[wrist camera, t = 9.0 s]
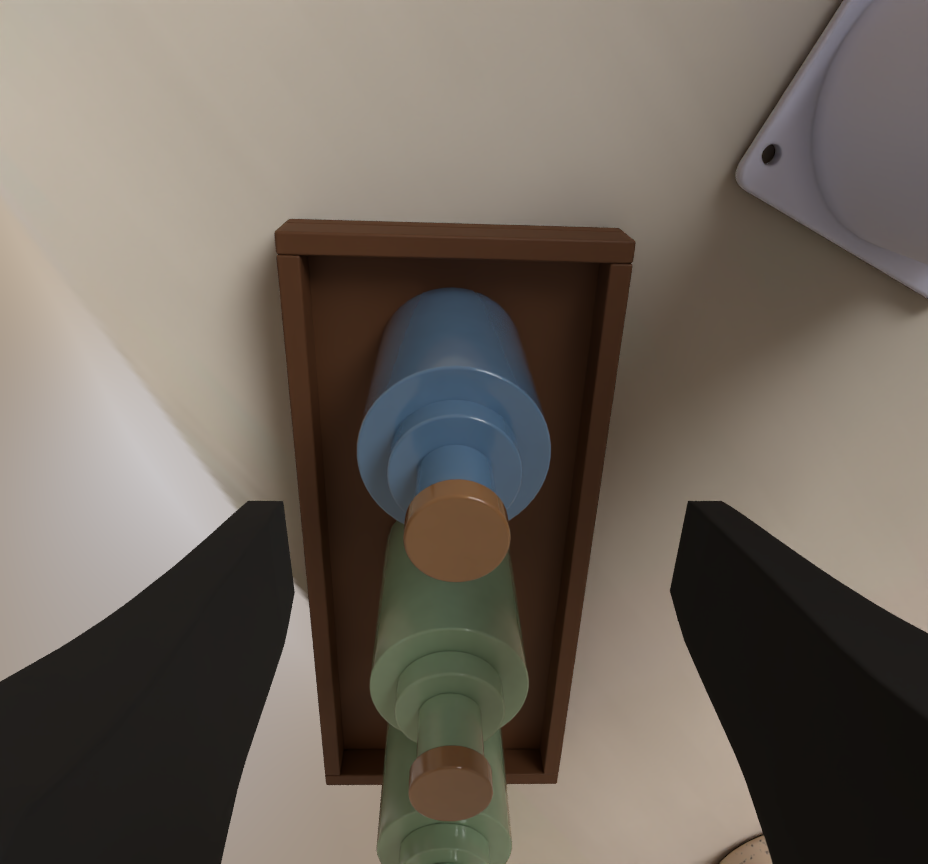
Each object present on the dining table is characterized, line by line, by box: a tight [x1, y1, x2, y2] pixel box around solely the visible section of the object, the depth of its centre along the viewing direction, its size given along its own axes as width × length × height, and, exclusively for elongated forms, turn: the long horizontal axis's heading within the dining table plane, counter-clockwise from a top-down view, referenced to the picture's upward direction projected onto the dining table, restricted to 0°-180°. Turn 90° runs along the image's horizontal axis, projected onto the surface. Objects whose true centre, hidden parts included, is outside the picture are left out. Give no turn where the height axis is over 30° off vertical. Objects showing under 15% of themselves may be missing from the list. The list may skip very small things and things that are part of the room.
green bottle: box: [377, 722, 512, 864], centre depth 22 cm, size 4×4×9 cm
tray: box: [274, 219, 636, 785], centre depth 23 cm, size 21×9×2 cm, turn 178°
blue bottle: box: [357, 287, 551, 582], centre depth 16 cm, size 4×4×9 cm
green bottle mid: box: [369, 521, 529, 822], centre depth 19 cm, size 4×4×9 cm
